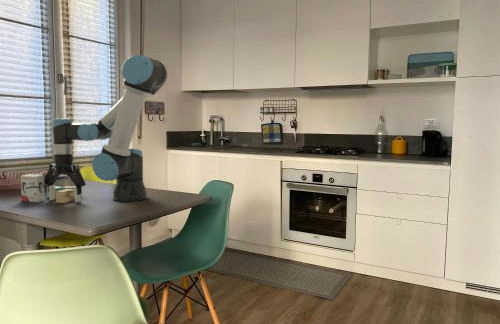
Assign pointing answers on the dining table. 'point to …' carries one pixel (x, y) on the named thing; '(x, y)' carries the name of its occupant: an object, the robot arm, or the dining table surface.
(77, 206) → the dining table surface
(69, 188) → the brick grey
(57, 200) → the brick oak
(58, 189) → the brick teal
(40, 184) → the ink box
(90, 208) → the dining table surface
